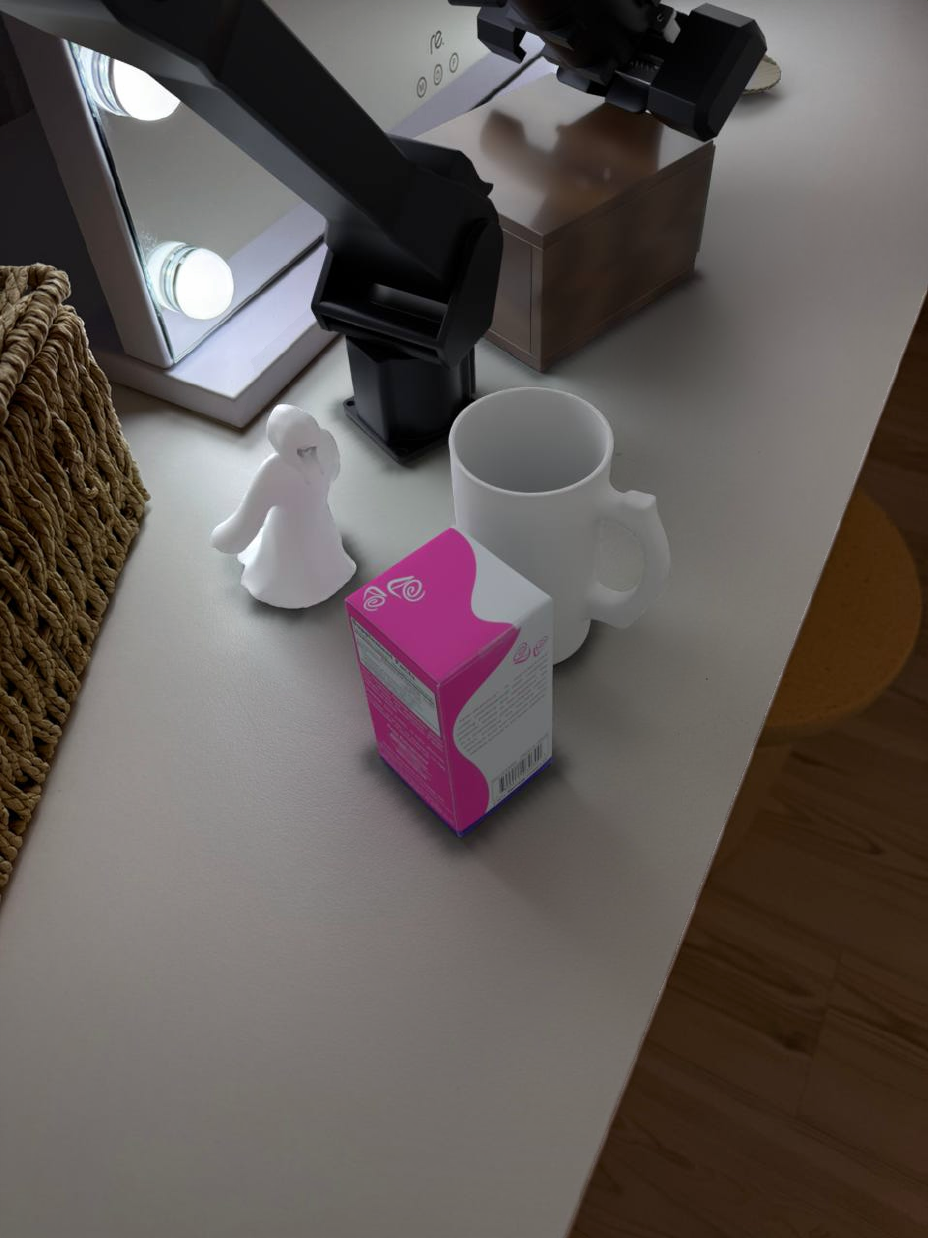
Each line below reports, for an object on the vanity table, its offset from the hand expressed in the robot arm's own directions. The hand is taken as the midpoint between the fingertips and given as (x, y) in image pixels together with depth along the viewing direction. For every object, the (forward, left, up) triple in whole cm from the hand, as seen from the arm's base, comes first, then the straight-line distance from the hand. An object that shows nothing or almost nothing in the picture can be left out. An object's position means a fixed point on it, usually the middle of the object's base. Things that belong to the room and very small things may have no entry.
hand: (664, 101), depth 68 cm
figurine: (-38, -13, -8) cm, 41 cm away
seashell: (+19, +11, -8) cm, 23 cm away
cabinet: (-11, -1, -8) cm, 14 cm away
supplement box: (-38, -28, -8) cm, 48 cm away
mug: (-30, -25, -8) cm, 40 cm away
